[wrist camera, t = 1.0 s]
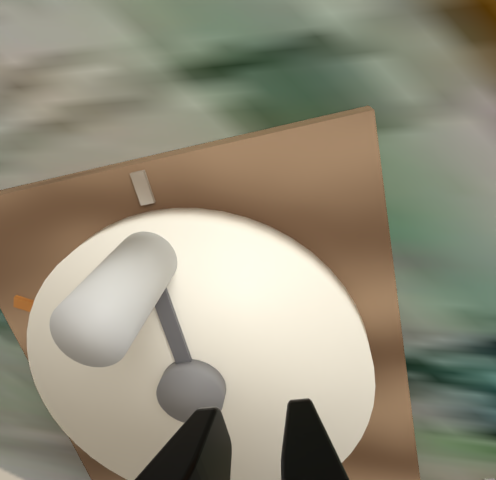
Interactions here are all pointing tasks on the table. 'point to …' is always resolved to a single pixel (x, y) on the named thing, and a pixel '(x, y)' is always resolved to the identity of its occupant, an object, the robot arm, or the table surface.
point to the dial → (197, 340)
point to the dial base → (256, 208)
